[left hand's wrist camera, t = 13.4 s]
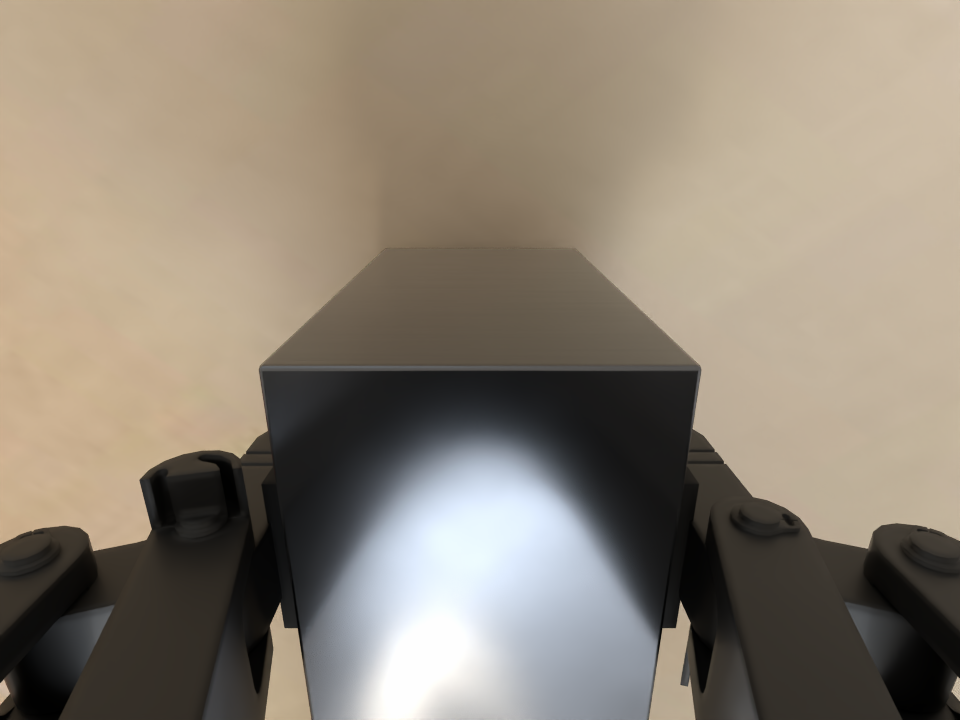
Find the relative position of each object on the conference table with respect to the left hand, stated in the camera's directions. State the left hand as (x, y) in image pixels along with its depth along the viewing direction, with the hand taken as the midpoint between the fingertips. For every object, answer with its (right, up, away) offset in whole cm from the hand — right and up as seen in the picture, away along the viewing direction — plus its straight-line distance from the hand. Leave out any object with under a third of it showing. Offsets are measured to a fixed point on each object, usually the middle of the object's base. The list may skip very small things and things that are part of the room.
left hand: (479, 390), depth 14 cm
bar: (0, -12, +5) cm, 13 cm away
